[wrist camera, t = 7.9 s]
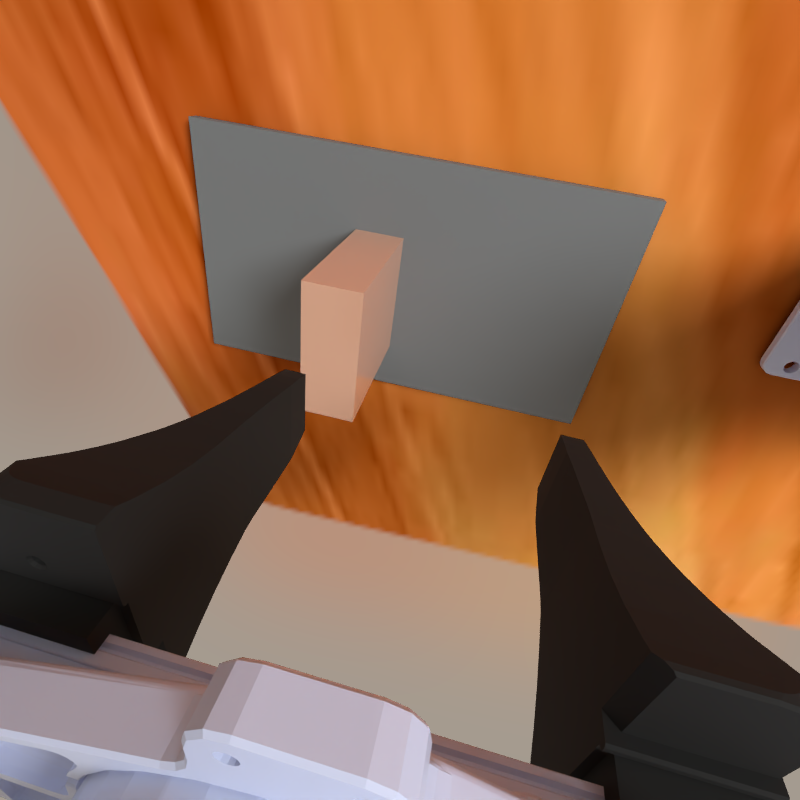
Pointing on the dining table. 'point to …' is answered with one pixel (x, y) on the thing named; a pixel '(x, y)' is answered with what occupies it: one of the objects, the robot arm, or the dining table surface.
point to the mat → (422, 260)
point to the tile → (348, 321)
